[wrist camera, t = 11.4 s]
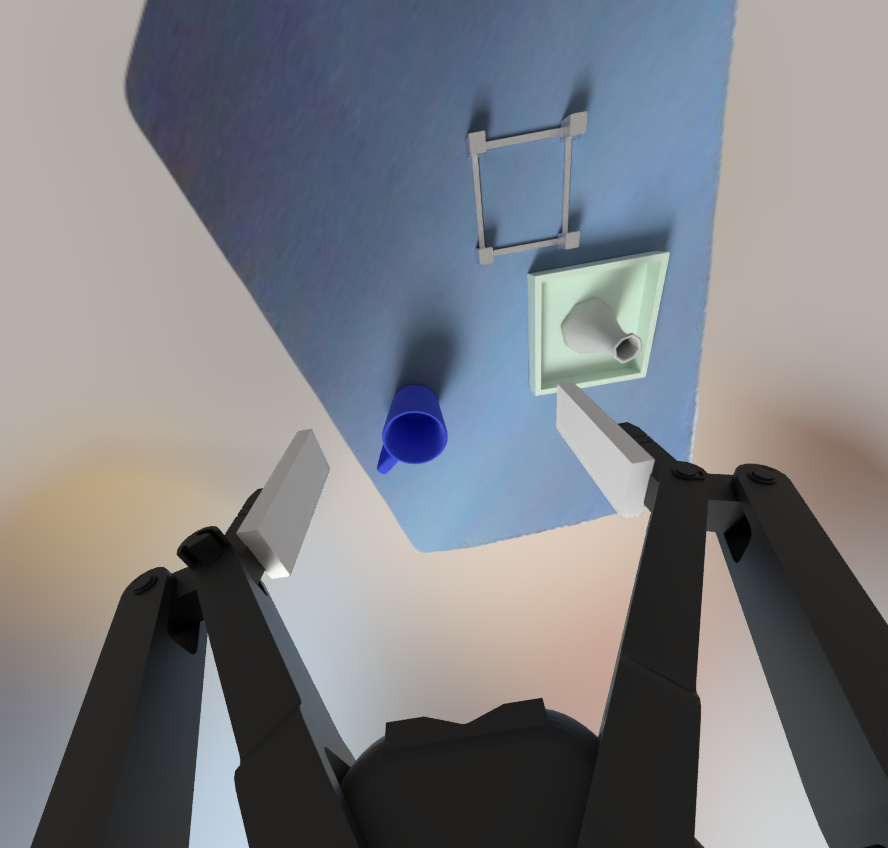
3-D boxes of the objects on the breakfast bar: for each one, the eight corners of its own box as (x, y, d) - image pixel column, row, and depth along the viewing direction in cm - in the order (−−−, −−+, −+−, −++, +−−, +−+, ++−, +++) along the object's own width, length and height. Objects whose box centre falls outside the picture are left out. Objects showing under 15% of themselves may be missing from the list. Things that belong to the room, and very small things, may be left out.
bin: (527, 273, 40) (535, 276, 37) (653, 250, 39) (669, 252, 37) (529, 387, 48) (535, 396, 45) (633, 369, 48) (645, 376, 45)
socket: (465, 140, 33) (468, 133, 30) (576, 119, 32) (587, 110, 30) (476, 263, 39) (480, 265, 37) (569, 246, 38) (578, 247, 36)
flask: (550, 325, 43) (583, 347, 34) (597, 286, 41) (645, 299, 32) (576, 361, 46) (612, 391, 37) (621, 327, 44) (671, 350, 35)
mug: (363, 424, 49) (352, 463, 41) (409, 366, 45) (408, 397, 36) (406, 449, 52) (404, 491, 44) (453, 398, 48) (460, 433, 40)
